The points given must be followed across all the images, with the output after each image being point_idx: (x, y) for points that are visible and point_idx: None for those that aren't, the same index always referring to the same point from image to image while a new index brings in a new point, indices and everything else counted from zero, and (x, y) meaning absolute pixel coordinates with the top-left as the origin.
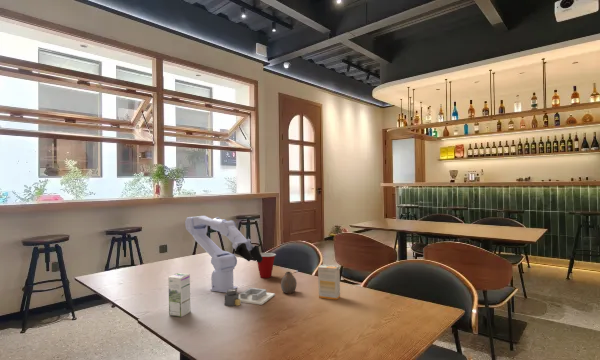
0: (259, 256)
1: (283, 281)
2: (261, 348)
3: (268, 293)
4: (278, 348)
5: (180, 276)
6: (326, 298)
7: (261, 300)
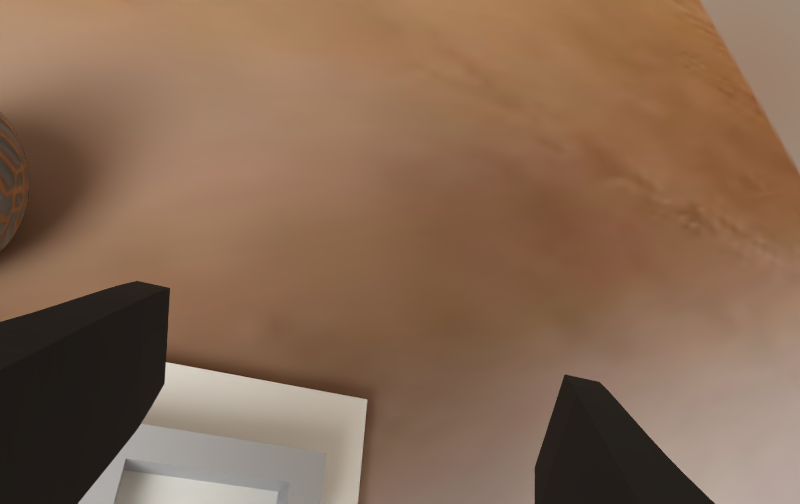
0: (109, 346)
1: None
2: None
3: None
4: (779, 191)
5: None
6: None
7: (310, 421)
